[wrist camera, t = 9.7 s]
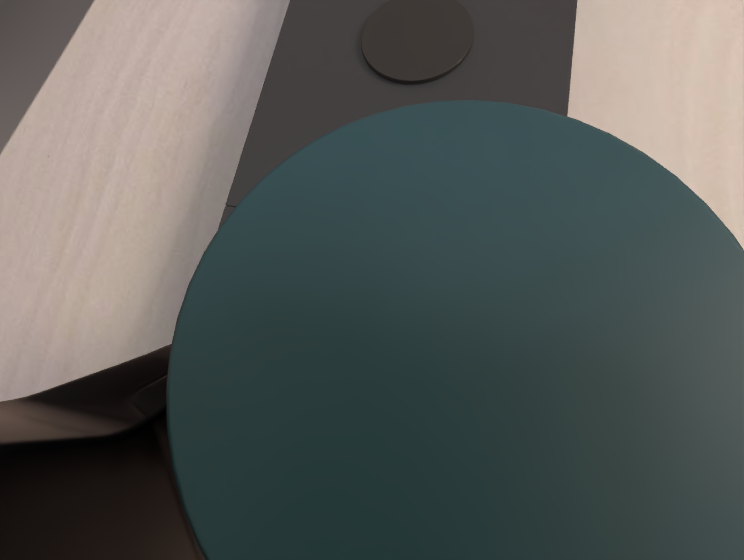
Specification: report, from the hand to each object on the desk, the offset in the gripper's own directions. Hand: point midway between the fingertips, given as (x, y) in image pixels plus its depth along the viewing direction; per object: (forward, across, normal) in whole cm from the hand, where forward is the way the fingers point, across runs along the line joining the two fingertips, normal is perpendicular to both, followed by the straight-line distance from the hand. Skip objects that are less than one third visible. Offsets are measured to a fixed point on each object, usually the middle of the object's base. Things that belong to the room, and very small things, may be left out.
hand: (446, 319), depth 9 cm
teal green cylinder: (+4, 0, +6) cm, 7 cm away
